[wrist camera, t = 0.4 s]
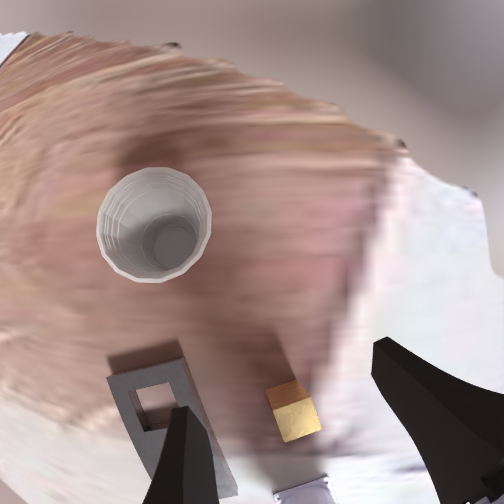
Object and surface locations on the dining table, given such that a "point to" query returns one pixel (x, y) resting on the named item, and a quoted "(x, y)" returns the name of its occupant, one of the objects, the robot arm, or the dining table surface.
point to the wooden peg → (293, 410)
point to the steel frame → (153, 436)
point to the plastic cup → (154, 224)
